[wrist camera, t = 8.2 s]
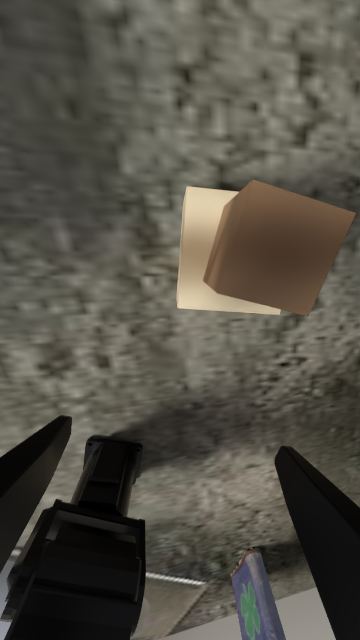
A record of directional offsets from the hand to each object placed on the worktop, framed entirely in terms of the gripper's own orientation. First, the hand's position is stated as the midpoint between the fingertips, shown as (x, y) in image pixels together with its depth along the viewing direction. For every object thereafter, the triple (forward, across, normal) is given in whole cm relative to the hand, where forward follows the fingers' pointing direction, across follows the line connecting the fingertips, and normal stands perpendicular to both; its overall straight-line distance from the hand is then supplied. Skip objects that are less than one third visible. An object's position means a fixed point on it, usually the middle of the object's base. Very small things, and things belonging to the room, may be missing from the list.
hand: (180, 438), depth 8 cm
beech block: (+12, -3, -8) cm, 15 cm away
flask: (+12, -20, +38) cm, 45 cm away
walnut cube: (+8, -3, -8) cm, 12 cm away
